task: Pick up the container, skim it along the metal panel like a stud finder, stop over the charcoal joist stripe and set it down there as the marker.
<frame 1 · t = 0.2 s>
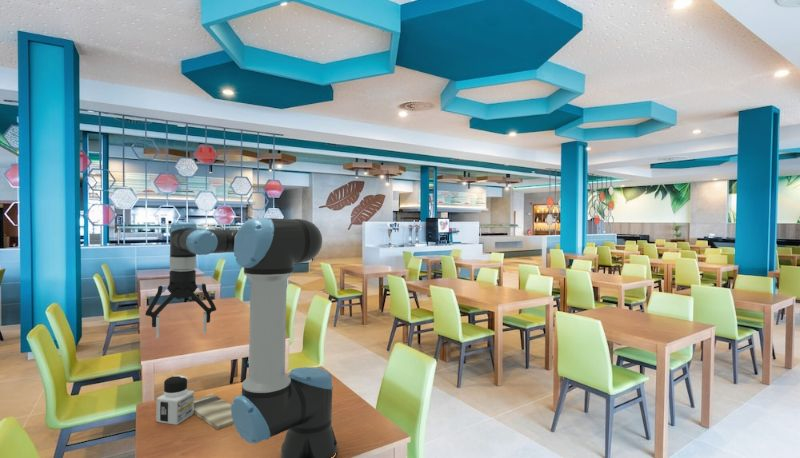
hand: (181, 334, 135), 26 cm above the table, fingers open, 13 cm apart
container: (175, 418, 133), on the table
metal panel: (214, 411, 137), on the table
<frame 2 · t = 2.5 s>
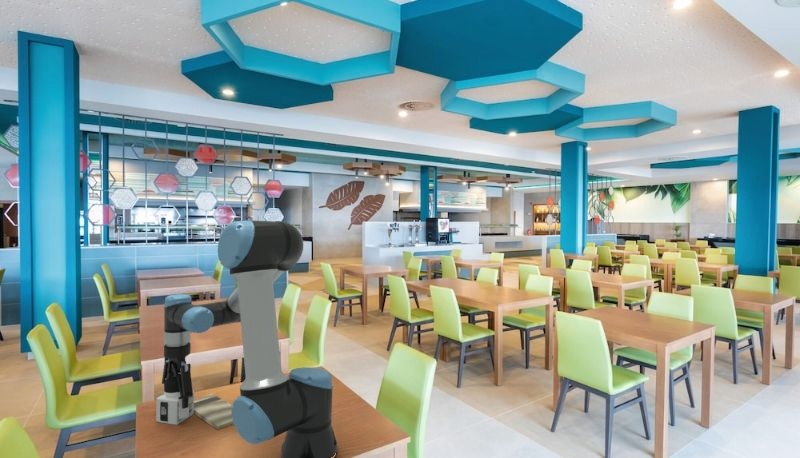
hand: (176, 412, 133), 2 cm above the table, fingers closed on container, 10 cm apart
container: (175, 418, 133), on the table, touching gripper
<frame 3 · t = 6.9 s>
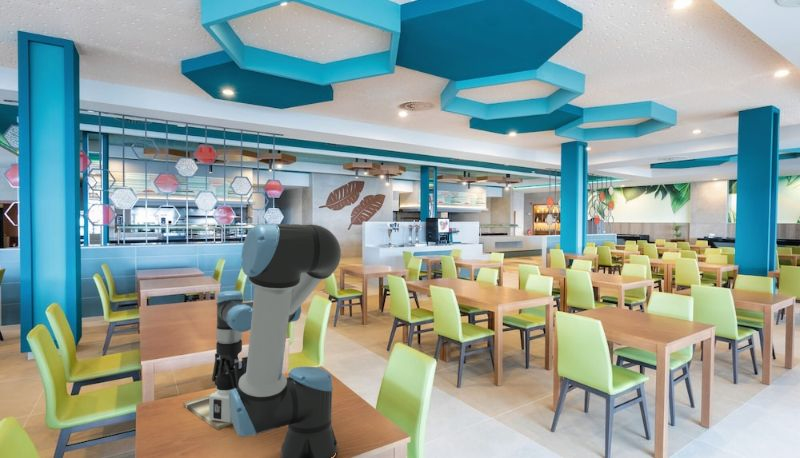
hand: (228, 409, 132), 4 cm above the table, fingers closed on container, 10 cm apart
container: (227, 416, 131), point 2 cm above the table, touching gripper
when the fingers open (3 cm above the table, at t = 11.3 s): container stays where it is, resting on metal panel.
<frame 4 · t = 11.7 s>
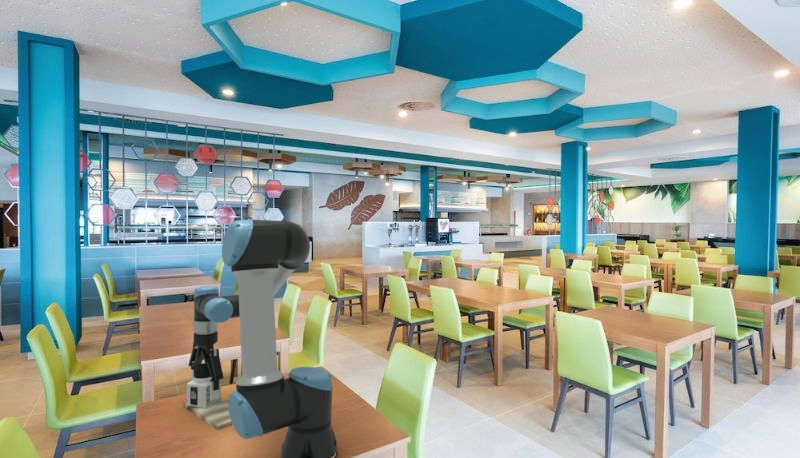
hand: (205, 393, 142), 4 cm above the table, fingers open, 13 cm apart
container: (203, 403, 141), point 1 cm above the table, touching metal panel
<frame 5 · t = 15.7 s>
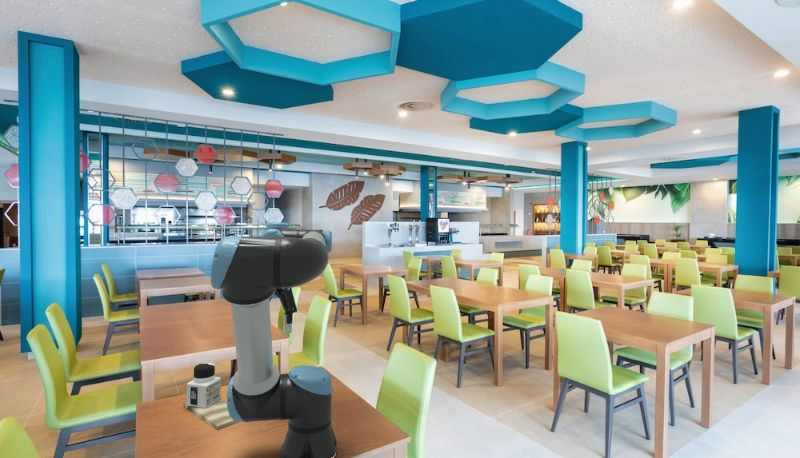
hand: (275, 329, 142), 27 cm above the table, fingers open, 13 cm apart
nothing on the table moved.
at the end: container inside the target area (0.4 cm from its centre), point 1.0 cm above the table; container tilted 0°; the gripper is holding nothing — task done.
